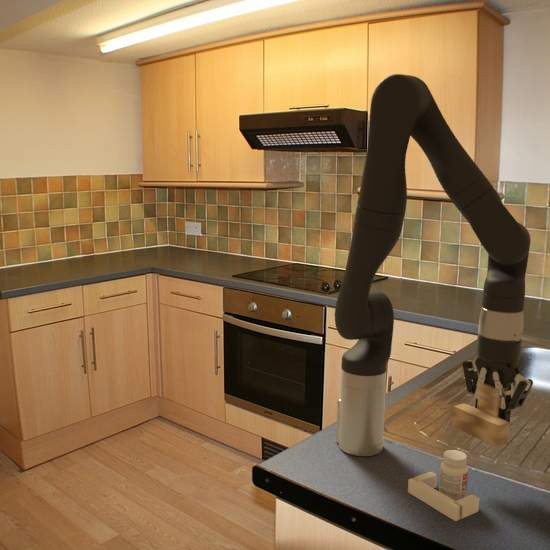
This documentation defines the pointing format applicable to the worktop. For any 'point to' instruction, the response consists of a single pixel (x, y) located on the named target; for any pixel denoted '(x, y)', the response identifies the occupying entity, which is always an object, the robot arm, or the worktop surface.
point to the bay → (441, 497)
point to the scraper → (483, 417)
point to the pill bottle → (453, 474)
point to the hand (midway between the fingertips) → (491, 421)
